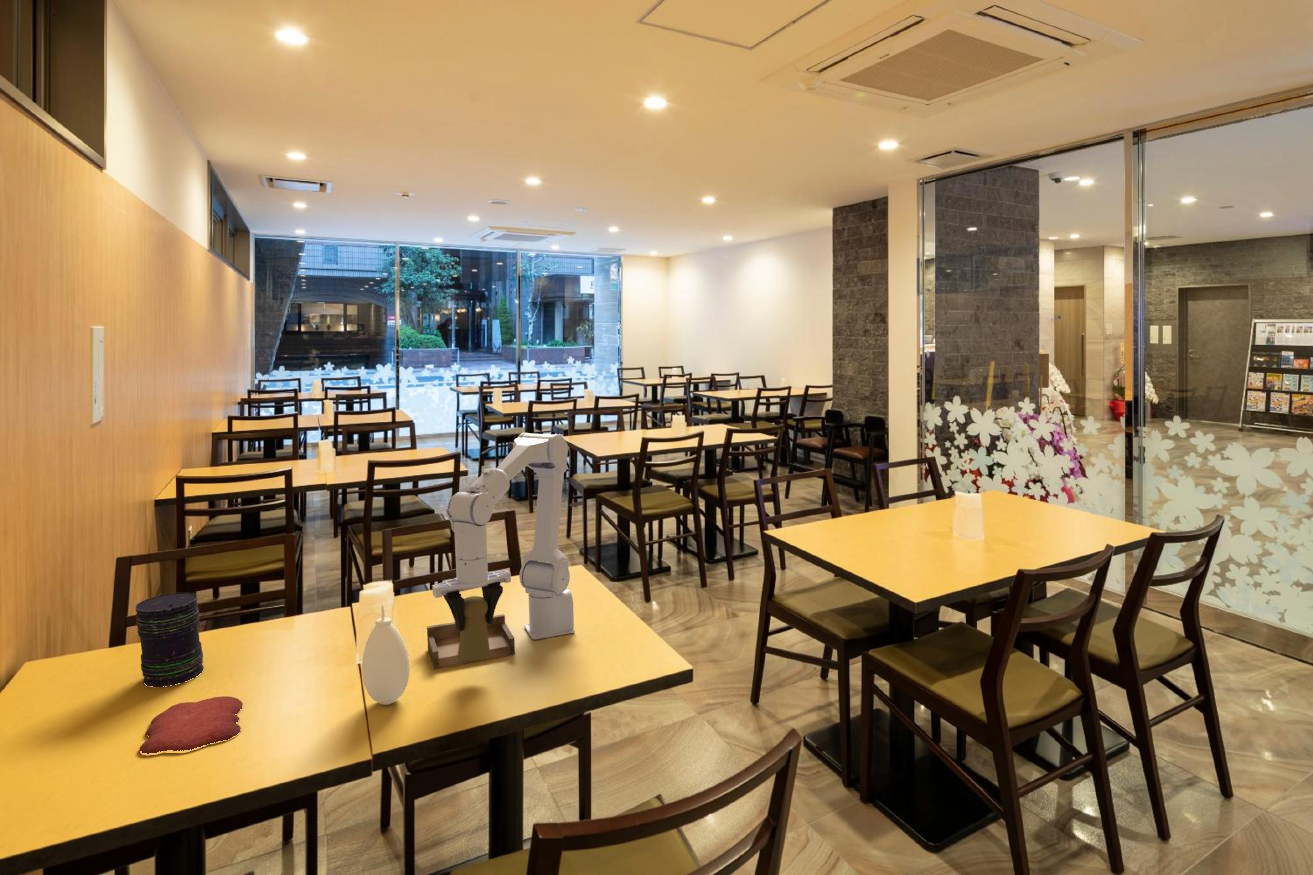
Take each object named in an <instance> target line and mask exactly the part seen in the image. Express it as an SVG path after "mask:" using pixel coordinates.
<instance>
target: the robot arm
mask: <svg viewBox="0 0 1313 875" xmlns="http://www.w3.org/2000/svg"><path fill="white" fill-rule="evenodd" d="M568 454H569V445H568V443H567V441H566V439H565V438H564V437H563V435H562V434H557V433H556V434H548V433H547V434H543V433H529V432H521V433H520V434H519V435H518V436H517V438H515V439H514V440H513V444H512V449H511V451H510V452H509V453H508V454H507V456H505V457H504V459H503V460H502V461H501V463H500V464H498V466H497V467H496V468H493V467H491V468H485V469H484V470H483V471H482V474H481V475H480V476H479V477H478V478H477V479H475V481H474V482H473V483H471V484H470V485H469V486H468V487H467V488H466V489H465V490H464V491H458V492H456V493H454V495H452V496H451V497H450V498H449V500H448V503H447V508H446V509H445V511H446V512H445V514H446V517H447V519H448V520H449V522H450V525H451V530H452V532H453V533H454V548H455V549H454V551H455V555H454V556H455V565H456V566H455V570H456V572H455V574H456V575H455V576H456V577H454V578H451V579H448V580H446V581H442V582H440V583H435V584H432V585H431V587H432V596H433V597H434V598H436V599H439V598H442V597H443V598H444V599H445V601H446V604H447V605H448V607H449V609H450V612H451V614H452V617H453V620H454V622H455V624H456V628H457V629H458V630H459V631H463V630H464V621H463V606H464V599H465V598H464V597H462V594H461V592H466V591H469V590H474V589H479V588H481V591H482V597H483V598H485V599H486V601H487V603H488V610H487V612H486V614H485V619H486V622H487V623H488V624H492V621H493V616H495V612H496V608H497V605H498V602H499V600H500V598H501V596H502V594H503V592H504V587H503V586H502V585H501V584H503V583H504V584H509V583H511V581H512V576H511V575H512V574H511V572H510V571H509V570H507V569H505V570H499V571H489V567H488V566H489V564H488V548H487V546H488V545H487V543H488V542H487V522H489V521H490V520H491V518H492V516H493V511H494V509H495V508H496V507H495V506H496V504H497V503H498V501H500V499H501V498H503V497H504V495H505V494H506V493H507V492H508V491H509V490H510V486H511V485H510V481H511V480H512V479H513V478H514V477H516V476H517V475H518V474H520V472H521V471H522V470H524V469H525V468H526V467H528V468H529V469H531V470H533V471H534V472H535V474H536V476H538V484H537V485H538V486H537V499H536V511H535V512H536V513H535V514H536V515H535V526H534V536H533V537H534V540H533V548H532V549H531V550H529V551H528V552H526V554H524V555H523V560H522V566H521V568H520V571H519V583H520V585H521V586H522V588H524V590H525V593H526V594H528V615H529V616H528V622H529V623H528V624H524V629H525V630H526V631H527V634H528V635H529V636H530V638H531V639H532V640H534V641H535V640H540V639H547V638H551V637H557V636H563V635H567V634H574V633H575V632H576V631H575V630H576V629H575V620H574V617H575V614H574V599H573V595H572V591H571V590H570V589H569V588H568V586H569V583H570V580H571V576H570V570H569V558H568V557H567V556H566V555H565V554H564V553H563V552H562V551H561V550H560V549H559V539H560V538H559V537H560V536H559V535H560V523H561V510H562V509H561V508H562V507H561V506H562V492H563V482H564V481H563V480H564V473H565V472H566V471H567V464H568Z"/></svg>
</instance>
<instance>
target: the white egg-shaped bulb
mask: <svg viewBox="0 0 1313 875" xmlns="http://www.w3.org/2000/svg"><path fill="white" fill-rule="evenodd" d="M374 624H375V626H374V627H373V629H371V631H370V633H369V635H368V637H367V640H366V643H365V647H364V650H363V653H362V654H363V655H362V661H361V662H362V664H361V668H362V669H361V673H362V674H361V675H362V681H363V686H364V688H365V690H366V692H367V694H368V696H369V697H370V698H371V699H372V700H373V701H375V702H377V703H378V704H379V705H385V706H386V705H387V706H388V705H391V704H393V703H395V702H396V701H398V699H399V698H401V697H402V696H403V694H404V693H405V691H406V689H407V686H408V683H409V678H410V672H411V668H410V667H411V665H410V658H409V652H408V649H407V646H406V644H405V641H404V638H403V636H402V634H401V633H400V631H399V630H398V628H397V627H396V626H395V625H394V624H393V623H392V619H391V618H390V617H385V609H384V605H382V604H381V617H380V618H377V619H376V620H375V622H374Z"/></svg>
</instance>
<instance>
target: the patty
mask: <svg viewBox="0 0 1313 875" xmlns="http://www.w3.org/2000/svg"><path fill="white" fill-rule="evenodd" d="M242 705H244V703H243V702H242V700H240V699H239V698H237V697H234V696H229V695H228V696H217V697H216V696H214V697H210V698H207V699H202V700H199V701H194V702H193V701H191V702H189V701H187V702H179V703H176V704H173V705H171V706H170V707H168V708H167V709H165V710H164V711H162V712H160V713H159V714H157V715H155V717H153V719H152V720H151V721H150V726H149V727H148V728H147V730H146V731H145V736H146V735H148V736H149V738H148V739H147V740H145V741H144V742H143V743H142V744H141V745H140V747H139V748H138V749H140V751H142V753H147V754H149V753H157V752H159V751H160V752H161V751H167V750H173V751H177V750H178V751H180V750H181V751H182V750H183V751H184V750H190V749H191V750H192V749H194V748H197V747H201V746H203V745H207V744H210V743H214V742H215V743H216V742H218V741H223V740H228V739H230V738H232V737H233V736H235V735H237V734H238V733H239V732H240V733H241V731H240V729H241V730H242V728H241V726H240V725H239V724H238V723H239V722H238V720H239V721H240V717H239V716H238V714H239V713H240V712H241V711H240V709H243V708H242ZM239 711H240V712H239ZM238 712H239V713H238ZM237 713H238V714H237ZM235 714H237V715H235ZM236 722H238V723H237V724H236ZM237 736H238V735H237Z"/></svg>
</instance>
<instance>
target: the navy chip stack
mask: <svg viewBox="0 0 1313 875" xmlns="http://www.w3.org/2000/svg"><path fill="white" fill-rule="evenodd" d="M197 601H198V596H197V595H196V594H195V593H192V592H174V593H168V594H165V593H164V594H161V595H156V596H153V597H150V598H146V599H144V600H142V601H140V602H139V603H137V604H136V605H135V612H136V616H135V617H136V620H135V621H136V628H137V631H136V632H137V634H138V637H139V638H140V649H141V655H140V669H141V670H140V671H141V672H142V677H143V679H142V682H144V683H145V684H146V685H147V686H153V687H163V686H164V688H166V687H165V686H170V685H175V684H178V683H183V682H185V681H188V680H190V679H192V678H195V677H196V676H198V675H199V674H200V673H202V671H203V669H204V665H203V663H204V651H203V648H202V642H201V641H200V632H199V630H200V629H199V625H200V620H201V619H200V617H199V616H200V610H199V605H198V602H197ZM204 670H205V669H204ZM203 672H204V671H203ZM202 674H203V673H202ZM198 677H199V676H198ZM195 679H196V678H195ZM188 682H189V681H188ZM144 683H143V684H144ZM183 684H184V683H183ZM147 686H146V687H147ZM175 686H176V685H175Z"/></svg>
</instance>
